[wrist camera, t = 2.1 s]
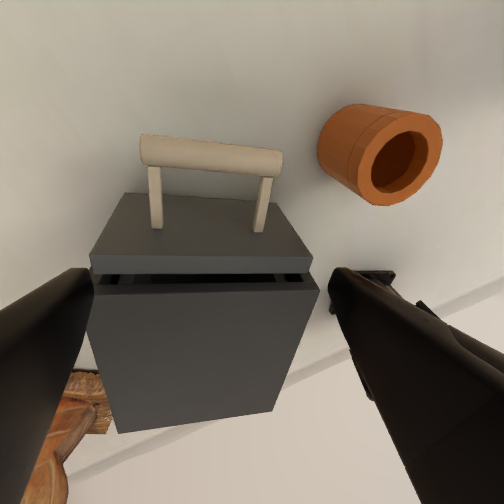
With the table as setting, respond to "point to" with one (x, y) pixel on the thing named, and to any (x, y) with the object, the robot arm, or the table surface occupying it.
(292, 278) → the cabinet
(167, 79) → the table surface
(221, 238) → the drawer
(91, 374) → the bird sculpture
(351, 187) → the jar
